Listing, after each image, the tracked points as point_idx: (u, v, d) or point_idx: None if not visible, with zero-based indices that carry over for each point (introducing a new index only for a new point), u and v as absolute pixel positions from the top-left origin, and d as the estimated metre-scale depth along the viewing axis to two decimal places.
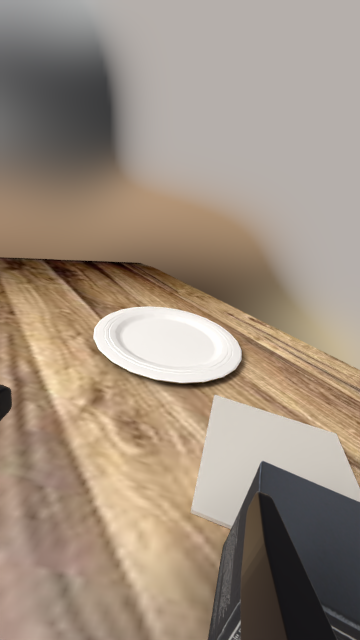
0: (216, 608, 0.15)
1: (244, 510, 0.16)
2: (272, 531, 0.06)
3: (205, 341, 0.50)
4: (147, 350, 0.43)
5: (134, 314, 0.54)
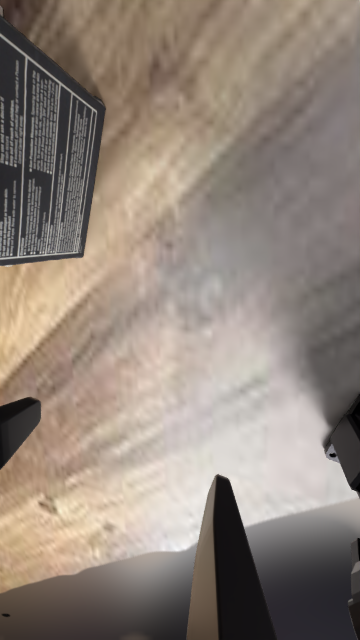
0: None
1: None
2: (222, 509, 0.06)
3: None
4: None
5: None
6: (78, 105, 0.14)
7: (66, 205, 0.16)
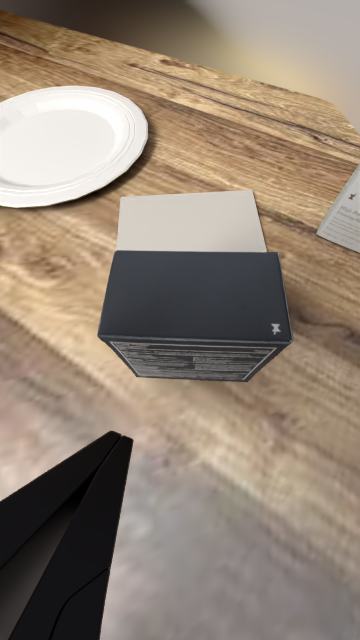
0: None
1: None
2: (111, 461, 0.07)
3: (101, 128, 0.38)
4: (30, 170, 0.34)
5: None
6: (243, 375, 0.19)
7: (175, 372, 0.19)
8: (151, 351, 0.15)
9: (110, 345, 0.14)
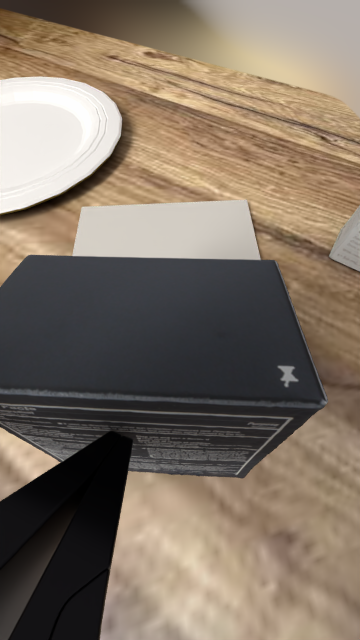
0: None
1: None
2: (112, 461, 0.07)
3: (67, 124, 0.31)
4: None
5: None
6: (234, 467, 0.12)
7: None
8: (53, 423, 0.08)
9: None
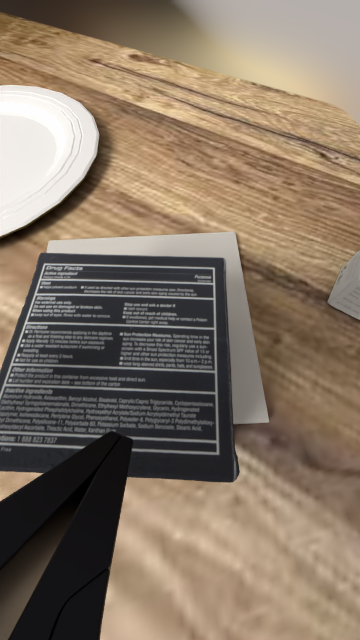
0: None
1: None
2: (112, 461, 0.07)
3: (40, 141, 0.29)
4: None
5: None
6: (208, 408, 0.10)
7: (77, 398, 0.10)
8: (77, 287, 0.12)
9: (37, 275, 0.13)
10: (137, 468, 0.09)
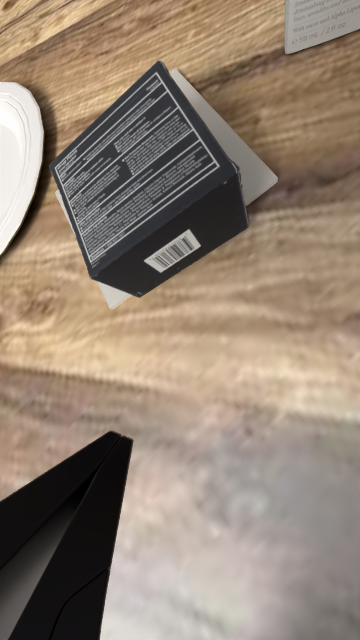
0: None
1: None
2: (112, 461, 0.07)
3: None
4: None
5: None
6: (200, 150, 0.13)
7: (121, 207, 0.15)
8: (82, 161, 0.16)
9: (55, 176, 0.17)
10: (175, 209, 0.13)
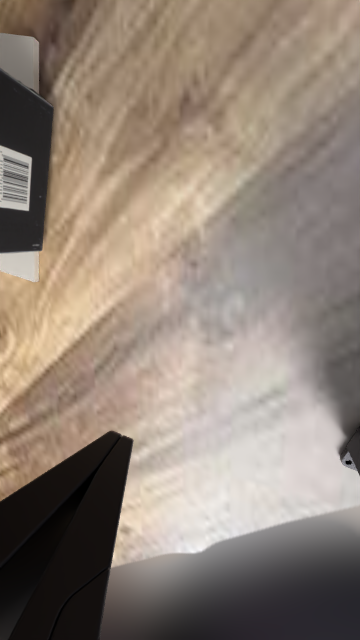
0: None
1: None
2: (111, 461, 0.07)
3: None
4: None
5: None
6: None
7: None
8: None
9: None
10: None
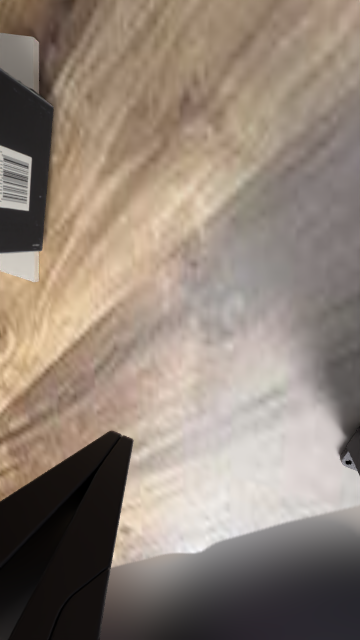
0: None
1: None
2: (111, 461, 0.07)
3: None
4: None
5: None
6: None
7: None
8: None
9: None
10: None
